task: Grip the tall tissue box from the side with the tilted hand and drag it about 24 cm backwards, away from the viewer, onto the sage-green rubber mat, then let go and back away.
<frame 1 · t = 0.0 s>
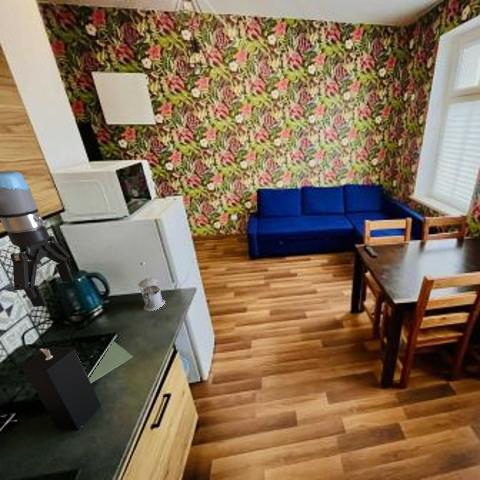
hand: (55, 292, 82), 37 cm above the kitchen counter, tool pointing down, fingers open, 13 cm apart
tissue box: (80, 416, 84), on the kitchen counter
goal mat: (94, 361, 103), on the kitchen counter
french press: (153, 305, 137), on the kitchen counter
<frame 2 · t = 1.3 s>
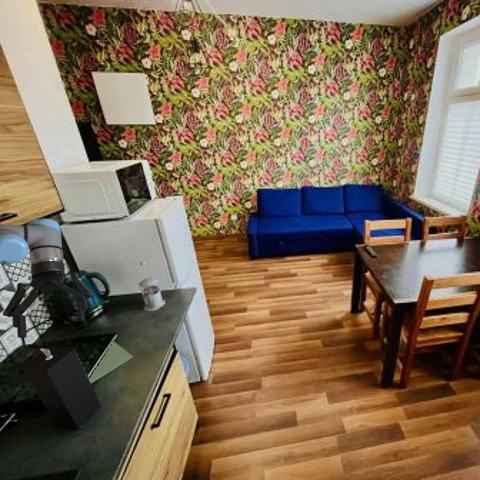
hand: (53, 329, 80), 28 cm above the kitchen counter, tool tilted 45°, fingers open, 13 cm apart
nothing on the kitchen counter moved.
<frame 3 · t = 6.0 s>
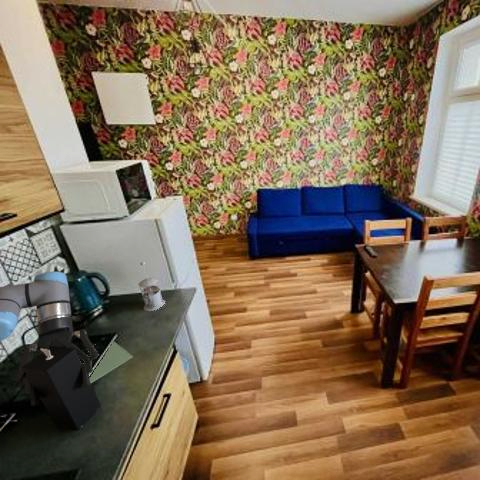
hand: (62, 394, 76), 13 cm above the kitchen counter, tool tilted 45°, fingers closed on tissue box, 10 cm apart
tissue box: (80, 416, 84), on the kitchen counter, touching gripper
everything else where it was.
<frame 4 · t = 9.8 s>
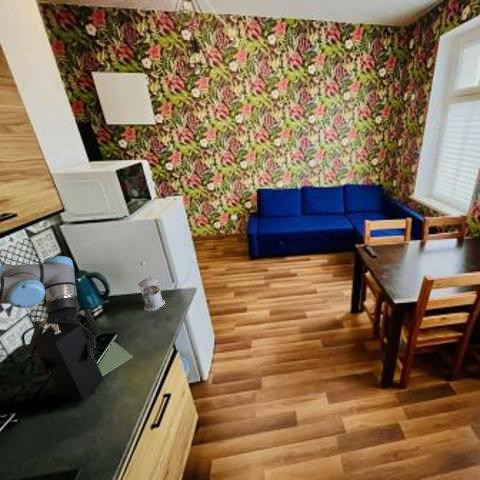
hand: (68, 366, 84), 14 cm above the kitchen counter, tool tilted 45°, fingers closed on tissue box, 10 cm apart
tissue box: (84, 388, 92), point 1 cm above the kitchen counter, touching gripper
everything else where it was.
when the fingers open (13 cm above the kitchen counter, at t = 14.0 s): tissue box stays where it is, resting on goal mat.
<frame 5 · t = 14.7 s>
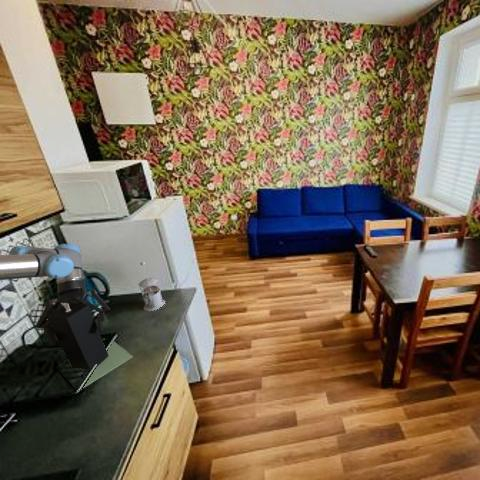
hand: (77, 338, 95), 14 cm above the kitchen counter, tool tilted 45°, fingers open, 13 cm apart
tissue box: (91, 363, 102), resting on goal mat
everything else where it was.
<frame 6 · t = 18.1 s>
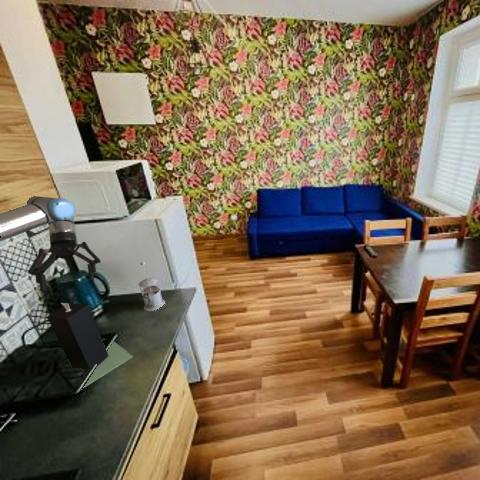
hand: (68, 285, 98), 30 cm above the kitchen counter, tool tilted 45°, fingers open, 13 cm apart
nothing on the kitchen counter moved.
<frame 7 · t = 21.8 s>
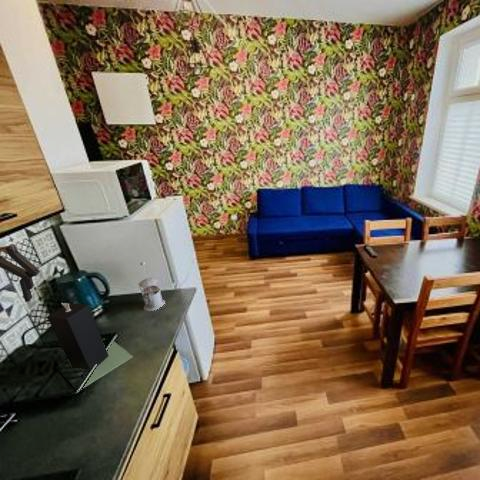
nothing on the kitchen counter moved.
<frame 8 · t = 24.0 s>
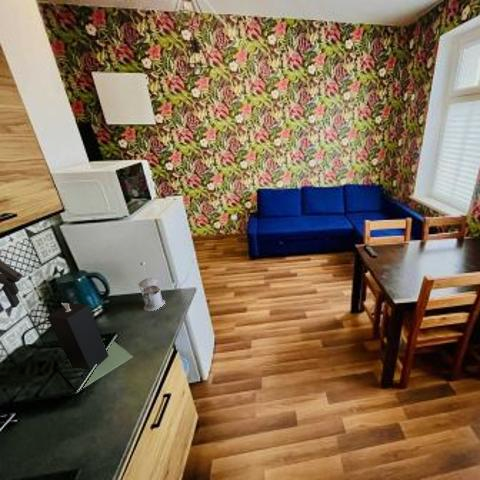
nothing on the kitchen counter moved.
at the end: tissue box inside the target area on the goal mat (1.0 cm from its centre), point 0.1 cm above the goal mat's base; tissue box tilted 0°; tissue box moved 23.8 cm from its start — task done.
